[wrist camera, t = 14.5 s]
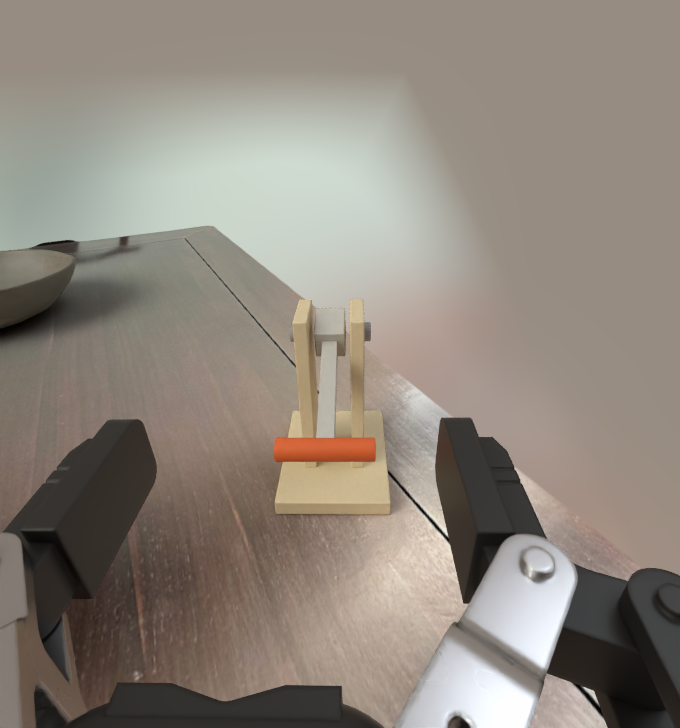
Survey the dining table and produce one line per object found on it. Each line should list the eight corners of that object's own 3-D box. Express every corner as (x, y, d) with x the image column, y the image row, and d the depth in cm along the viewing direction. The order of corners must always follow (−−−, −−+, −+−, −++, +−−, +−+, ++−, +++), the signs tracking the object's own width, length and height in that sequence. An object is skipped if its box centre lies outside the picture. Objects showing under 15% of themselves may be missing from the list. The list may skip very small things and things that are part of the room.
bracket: (390, 514, 34) (398, 347, 26) (275, 514, 34) (252, 349, 26) (381, 420, 44) (385, 281, 37) (293, 420, 44) (280, 283, 37)
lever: (375, 469, 26) (376, 450, 24) (277, 470, 26) (271, 450, 25) (369, 330, 34) (370, 307, 32) (294, 330, 34) (290, 308, 33)
